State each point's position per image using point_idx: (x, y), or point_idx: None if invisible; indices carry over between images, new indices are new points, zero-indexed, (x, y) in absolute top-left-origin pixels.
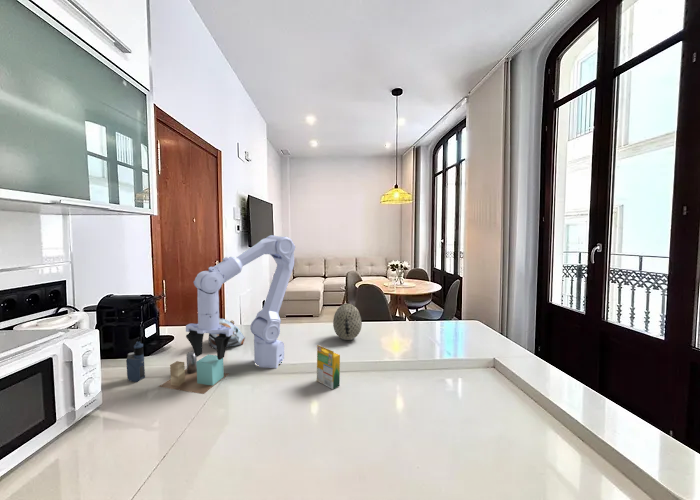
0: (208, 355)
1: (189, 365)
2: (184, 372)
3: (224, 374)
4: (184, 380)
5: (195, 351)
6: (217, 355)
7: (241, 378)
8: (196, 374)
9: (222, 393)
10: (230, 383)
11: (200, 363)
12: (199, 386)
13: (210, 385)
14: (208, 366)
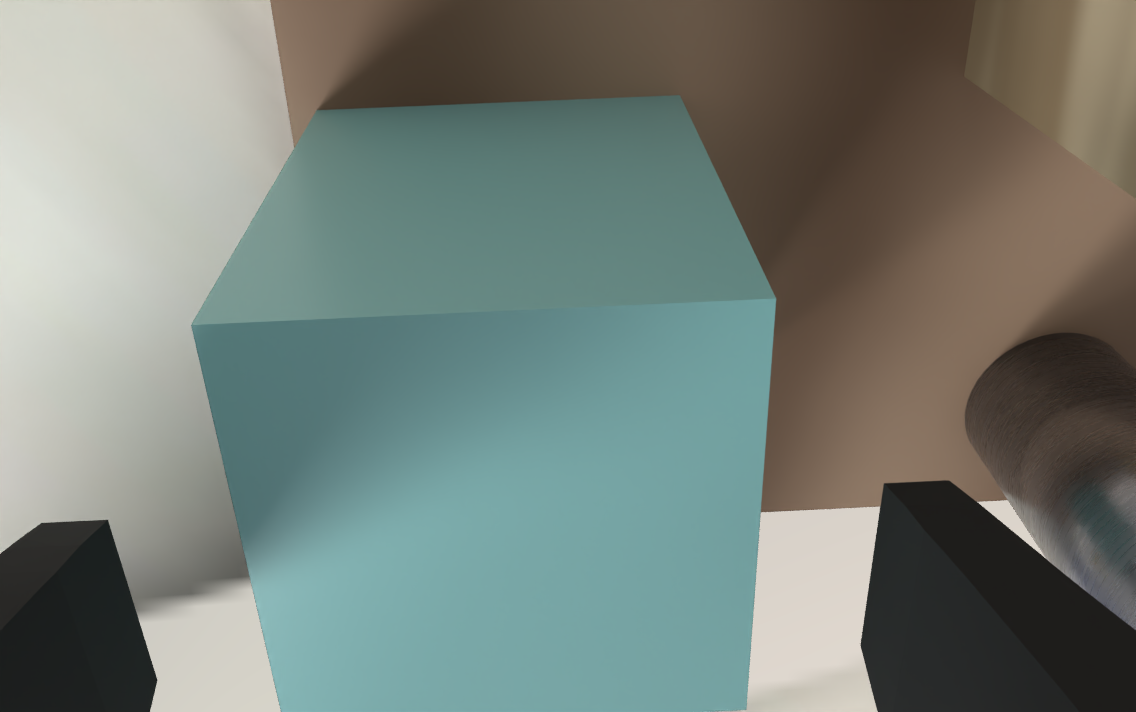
0: (696, 670)
1: (1126, 424)
2: (1053, 131)
3: None
4: (978, 68)
5: (994, 578)
6: (23, 598)
7: (140, 507)
8: (907, 352)
9: (28, 11)
10: (181, 337)
11: (625, 288)
12: (549, 3)
13: (363, 102)
14: (342, 272)
